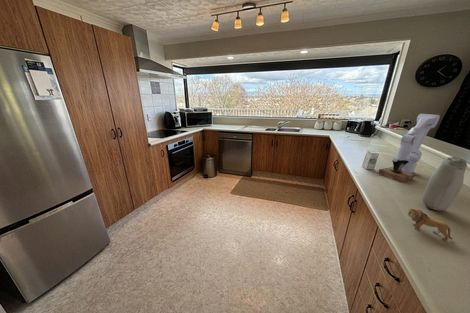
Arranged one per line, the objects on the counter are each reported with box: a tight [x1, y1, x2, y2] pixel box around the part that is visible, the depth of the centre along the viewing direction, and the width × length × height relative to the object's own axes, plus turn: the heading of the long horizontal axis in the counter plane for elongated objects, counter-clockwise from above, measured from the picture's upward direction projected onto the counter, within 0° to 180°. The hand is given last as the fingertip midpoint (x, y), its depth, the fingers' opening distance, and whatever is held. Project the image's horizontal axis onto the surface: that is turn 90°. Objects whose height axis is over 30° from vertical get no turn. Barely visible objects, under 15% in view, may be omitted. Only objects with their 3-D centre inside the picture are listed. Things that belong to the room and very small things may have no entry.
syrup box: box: [361, 150, 380, 171], centre depth 135 cm, size 6×6×14 cm
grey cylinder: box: [393, 163, 404, 174], centre depth 122 cm, size 4×4×9 cm
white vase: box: [421, 156, 468, 211], centre depth 84 cm, size 10×10×28 cm
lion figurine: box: [407, 207, 453, 242], centre depth 72 cm, size 15×5×9 cm, turn 52°
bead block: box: [377, 166, 415, 183], centre depth 124 cm, size 14×14×4 cm
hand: (397, 169), depth 123 cm, fingers closed on grey cylinder, 4 cm apart
